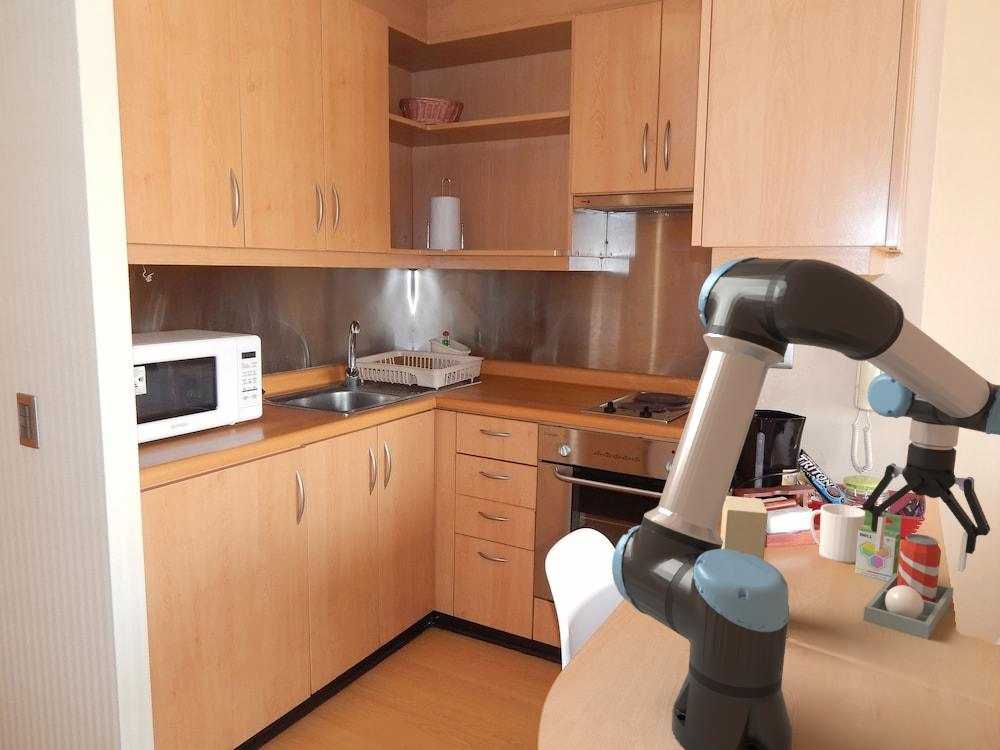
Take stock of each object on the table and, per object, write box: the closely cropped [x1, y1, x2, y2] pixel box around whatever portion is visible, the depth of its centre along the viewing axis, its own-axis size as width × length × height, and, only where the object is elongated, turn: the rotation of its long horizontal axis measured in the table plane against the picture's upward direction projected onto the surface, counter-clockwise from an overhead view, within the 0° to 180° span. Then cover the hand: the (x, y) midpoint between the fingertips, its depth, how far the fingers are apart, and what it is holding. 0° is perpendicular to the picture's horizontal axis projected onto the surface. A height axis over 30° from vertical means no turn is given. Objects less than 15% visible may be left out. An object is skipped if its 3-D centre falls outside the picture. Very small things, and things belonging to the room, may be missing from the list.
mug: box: [809, 503, 865, 565], centre depth 166 cm, size 11×9×10 cm
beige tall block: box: [720, 495, 768, 560], centre depth 134 cm, size 8×7×21 cm
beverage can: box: [897, 533, 942, 603], centre depth 142 cm, size 6×6×12 cm
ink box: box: [854, 510, 903, 583], centre depth 154 cm, size 7×4×13 cm, turn 50°
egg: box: [885, 585, 924, 619], centre depth 135 cm, size 6×6×6 cm
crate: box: [862, 573, 955, 640], centre depth 139 cm, size 20×10×3 cm, turn 140°
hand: (918, 559), depth 142 cm, fingers open, 13 cm apart
